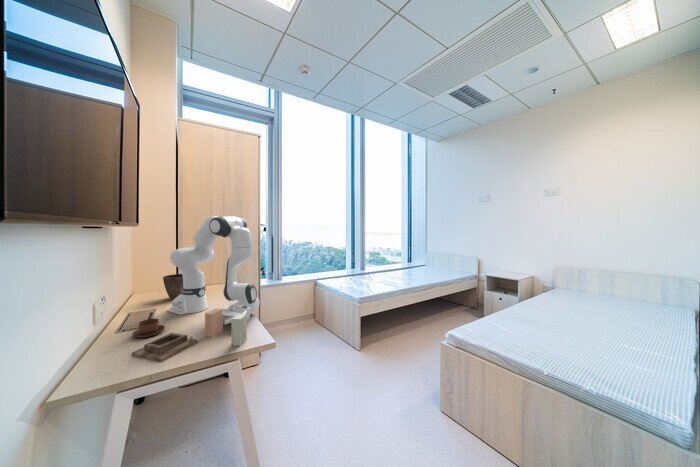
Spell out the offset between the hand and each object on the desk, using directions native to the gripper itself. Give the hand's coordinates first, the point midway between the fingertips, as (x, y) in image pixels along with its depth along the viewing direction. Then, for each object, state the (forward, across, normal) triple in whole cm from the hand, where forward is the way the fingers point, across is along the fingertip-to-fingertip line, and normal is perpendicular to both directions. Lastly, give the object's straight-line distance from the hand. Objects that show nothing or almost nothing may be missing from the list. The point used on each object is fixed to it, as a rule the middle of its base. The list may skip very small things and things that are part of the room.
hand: (215, 321), depth 118 cm
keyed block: (+1, 0, +6) cm, 6 cm away
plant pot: (-36, -70, +6) cm, 79 cm away
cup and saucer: (+10, -30, +6) cm, 32 cm away
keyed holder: (+18, -8, +6) cm, 21 cm away
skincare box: (+5, +18, +6) cm, 19 cm away
